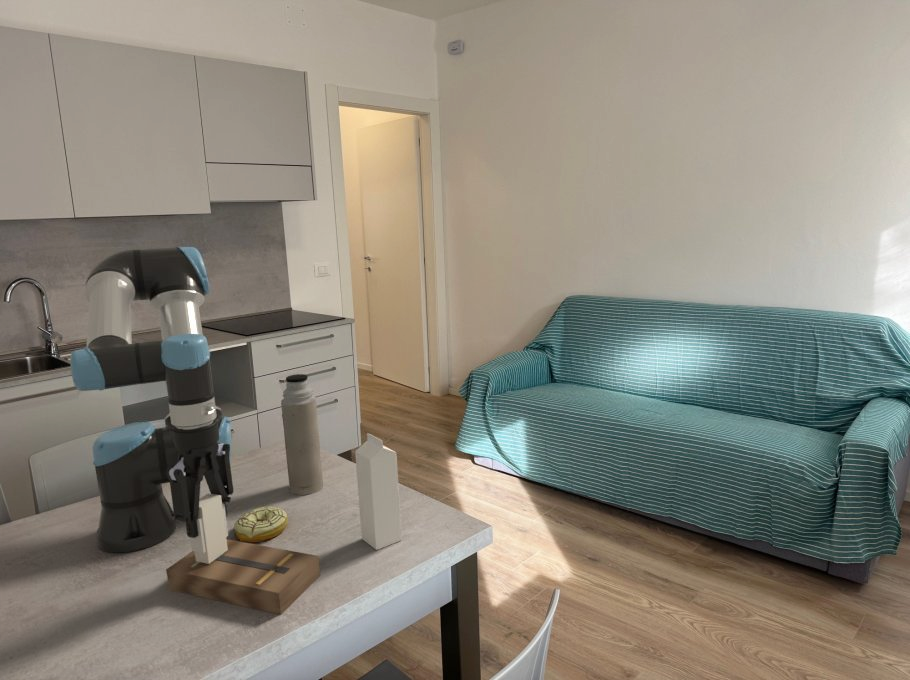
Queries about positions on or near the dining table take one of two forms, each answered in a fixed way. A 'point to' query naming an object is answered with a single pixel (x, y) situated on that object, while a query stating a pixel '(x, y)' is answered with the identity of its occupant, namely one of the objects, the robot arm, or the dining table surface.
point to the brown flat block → (247, 576)
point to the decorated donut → (260, 524)
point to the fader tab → (212, 528)
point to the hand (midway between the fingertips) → (210, 542)
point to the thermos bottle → (301, 436)
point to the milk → (378, 493)
